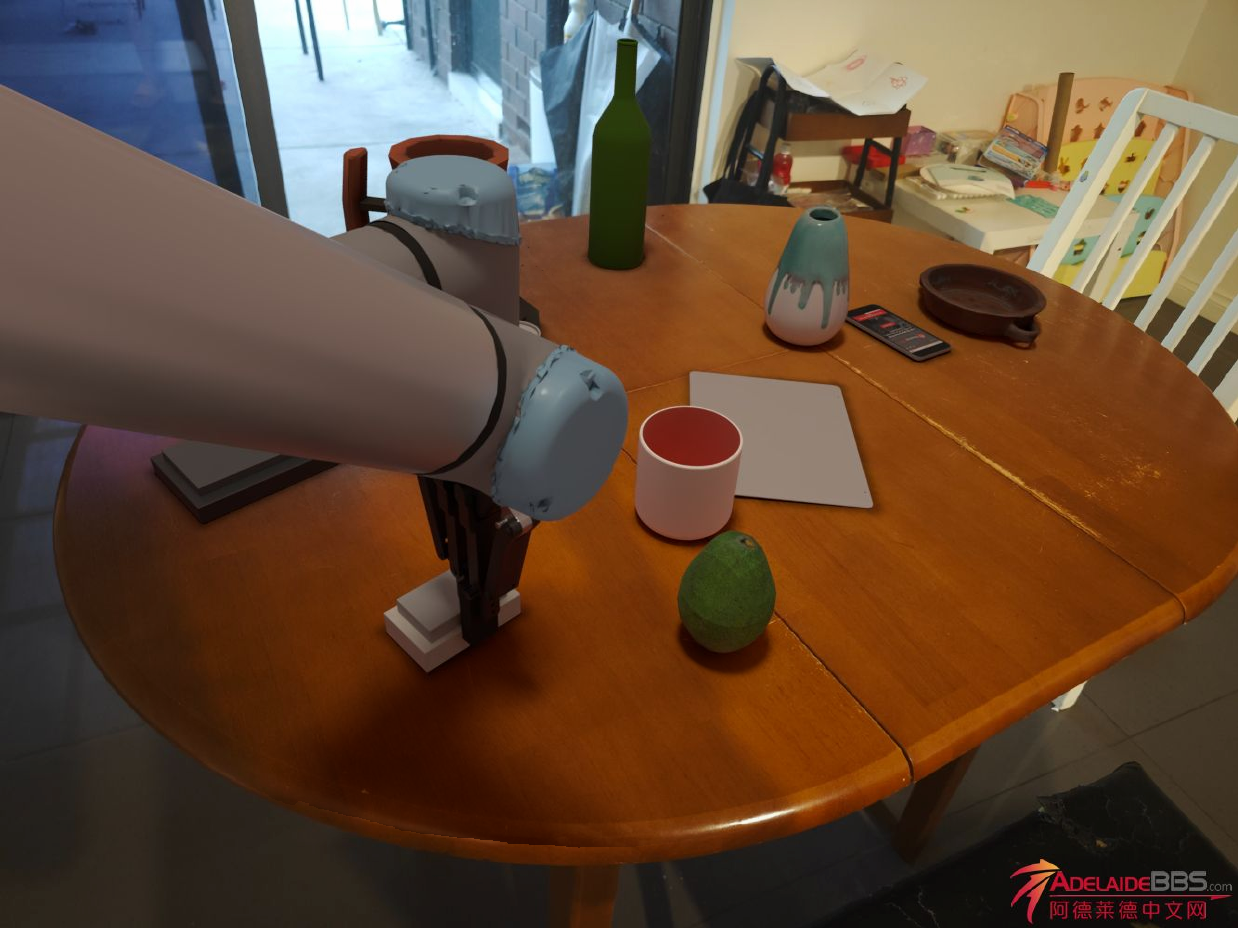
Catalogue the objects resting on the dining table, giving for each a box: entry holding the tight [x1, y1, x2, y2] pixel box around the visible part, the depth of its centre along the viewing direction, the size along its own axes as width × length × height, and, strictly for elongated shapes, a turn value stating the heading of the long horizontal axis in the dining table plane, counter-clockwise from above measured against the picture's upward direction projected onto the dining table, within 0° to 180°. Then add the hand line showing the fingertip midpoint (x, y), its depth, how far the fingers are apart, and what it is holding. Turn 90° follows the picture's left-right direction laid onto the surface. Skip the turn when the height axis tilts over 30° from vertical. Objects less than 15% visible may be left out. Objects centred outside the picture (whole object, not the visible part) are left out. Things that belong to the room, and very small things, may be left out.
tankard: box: [341, 133, 541, 331], centre depth 108 cm, size 22×25×25 cm
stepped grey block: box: [383, 568, 522, 673], centre depth 74 cm, size 10×6×4 cm, turn 135°
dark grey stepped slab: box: [149, 440, 341, 525], centre depth 93 cm, size 26×11×3 cm, turn 136°
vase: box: [762, 205, 851, 347], centre depth 116 cm, size 12×12×18 cm
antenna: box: [689, 370, 874, 509], centre depth 101 cm, size 25×24×1 cm
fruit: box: [676, 530, 777, 654], centre depth 71 cm, size 8×8×12 cm
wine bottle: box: [587, 37, 653, 271], centre depth 129 cm, size 9×9×32 cm
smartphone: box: [845, 303, 953, 362], centre depth 123 cm, size 7×1×15 cm
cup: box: [634, 405, 743, 541], centre depth 85 cm, size 10×10×10 cm
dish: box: [918, 263, 1047, 344], centre depth 128 cm, size 18×22×5 cm
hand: (480, 634), depth 72 cm, fingers closed
